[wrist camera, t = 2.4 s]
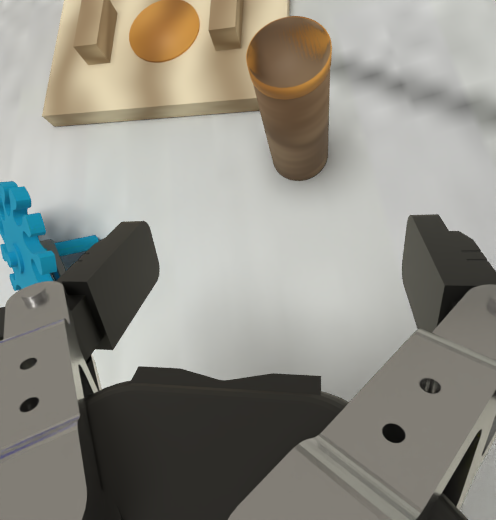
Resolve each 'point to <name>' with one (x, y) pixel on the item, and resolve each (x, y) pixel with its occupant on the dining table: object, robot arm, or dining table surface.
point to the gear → (31, 240)
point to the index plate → (154, 59)
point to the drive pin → (293, 92)
